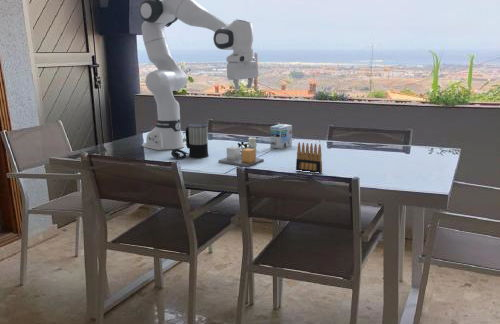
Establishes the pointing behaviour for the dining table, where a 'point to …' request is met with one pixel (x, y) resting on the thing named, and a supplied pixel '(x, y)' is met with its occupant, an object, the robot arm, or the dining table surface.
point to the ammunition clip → (309, 158)
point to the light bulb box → (281, 136)
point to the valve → (248, 144)
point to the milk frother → (195, 142)
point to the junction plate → (237, 158)
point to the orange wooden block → (248, 155)
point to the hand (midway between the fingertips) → (243, 88)
